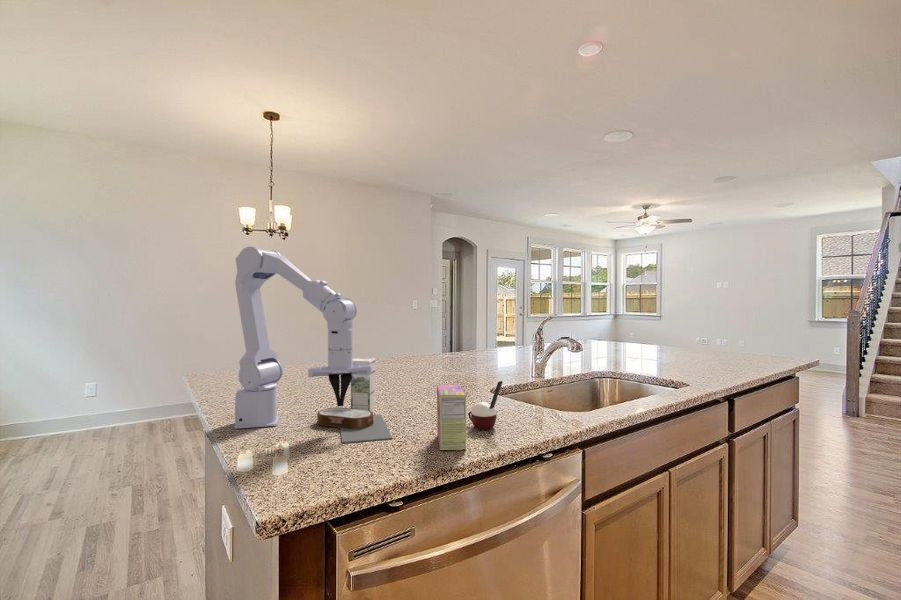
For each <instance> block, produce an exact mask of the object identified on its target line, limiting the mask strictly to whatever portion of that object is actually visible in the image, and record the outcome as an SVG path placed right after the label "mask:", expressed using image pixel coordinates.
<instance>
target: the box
mask: <svg viewBox="0 0 901 600" xmlns="http://www.w3.org/2000/svg"><path fill="white" fill-rule="evenodd" d="M436 404H437V405H436V406H437V407H436V408H437V409H436V411H437V414H436V416H437V419H436V420H437V440H438V441H437V442H438V445H439V446H438V447H439V451H440V450H456V451H463V450H462V449H466V450H467V394H466V393H465V390H464V389H463V387H462V385H460V384H452V385H451V384H448V385H447V384H446V385H445V384H444V385H443V384H442V385H437V386H436Z"/></svg>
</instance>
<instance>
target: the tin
mask: <svg viewBox="0 0 901 600" xmlns="http://www.w3.org/2000/svg"><path fill="white" fill-rule="evenodd" d="M316 415H317V417H316V423H317V424H318V425H320V426H324V427H332V428H333V427H334V428H339V429H340V428H348V429H359V428H365V427H369V426H371V425H373V424H374V422H373V415H374V413H373V411H372V410H371V411H368V410H361V409H351V407H349V408H348V407H329V408H325V409H323V410H320V411H318V412H317V414H316Z"/></svg>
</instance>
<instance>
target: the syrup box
mask: <svg viewBox="0 0 901 600" xmlns="http://www.w3.org/2000/svg"><path fill="white" fill-rule="evenodd" d="M352 365H361V366H367V365H370V366H371V374H368V375H367V374H357V375H352V380H351V382H350V408H351V409H361V410H368V411H371V412H372V410H373V409H374V408H375V407H376V358H375V357H354V358H352Z"/></svg>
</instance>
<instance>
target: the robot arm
mask: <svg viewBox="0 0 901 600" xmlns="http://www.w3.org/2000/svg"><path fill="white" fill-rule="evenodd" d="M235 263H236V264H235V265H236V276H235V280H234V283H235V290H236V291H235V292H236V297H237V303H238V309H239V316H240V322H241V329H242V336H243V339H244V340H243V341H244V346H245V353H244V354H243V356H241V358H240V359H239V372H238V382H239V384H240V386H242V388H239V389H237V390H236V392H235V397H234V401H235V402H234V429H235V430H237V429H245V428H246V429H249V428H252V429H253V428H261V427H263V428H264V427H274V426H275V427H276V426H277V425H278V422H279V419H280V415H277V411H278V409H277V408H278V407H277V397H278V396H277V394H278V393H277V389H278V388H277V387H278V385H279V381H280V380H281V379H282V377H283V373H284V370H283V366H282V364H281V363H280V361H279V359H278V354H277V352H275V351H274V350H273V349H272V348H271V347H270V343H269V342H270V341H269V336H268V329H267V325H266V317H265V311H264V305H263V304H264V303H263V299H262V294H261V288H262V287H263V285H264V283H265V282H267V281H268V280H269V279H271V278H273V277H274V276H275V275H279V276H280V277H282V278H283V279H285V280H286V281H288V282H289V283H290V284H292V285H293V286H295V287H296V288H298V290H301V291H302V297H303V299H304V300H306V302H309V304H311V305H312V306H313V307H315V308H316V309H317V310H318V311H320V312H321V313H322V315H323V318H324V320H325V321H326V324H327V366H317V367H308V370H307V371H308V375H307V377H308V378H314V377H328V381H329V383H330V385H331V387H332V390H333V393H334V395H335V398H336V399H335V400H336V406H337V407H344V402H345V398H346V394H347V392H348V388H349V386H350V385H351V380H352V375H357V374H367V375H368V374H371V366H370V365H367V366H361V365H352V359H353V320H354V319H355V317H356V316H357V306H356V305H355V302H354V301H352V299H350V298H343V297H342V294H341V292H335V291H334V290H333V289H331V288H330V287H329V286H328V282H327V281H325V280H319V279H314V280H313V279H311V278H310V277H308V276H307V275H306V274H305V273H303V272H302V271H301V270H300V269H299V268H298V267H296V266H295V265H294V264H293V263H292V262H291V261H290V260H288V258H287V257H286V256H285V255H283V254H281V253H280V252H278V250H273V249H272V250H271V249H262V248H259V247H254V246H245V247H243V248H242V250H241V251H240V252H239V253H238V255H237V256H236V257H235Z"/></svg>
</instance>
